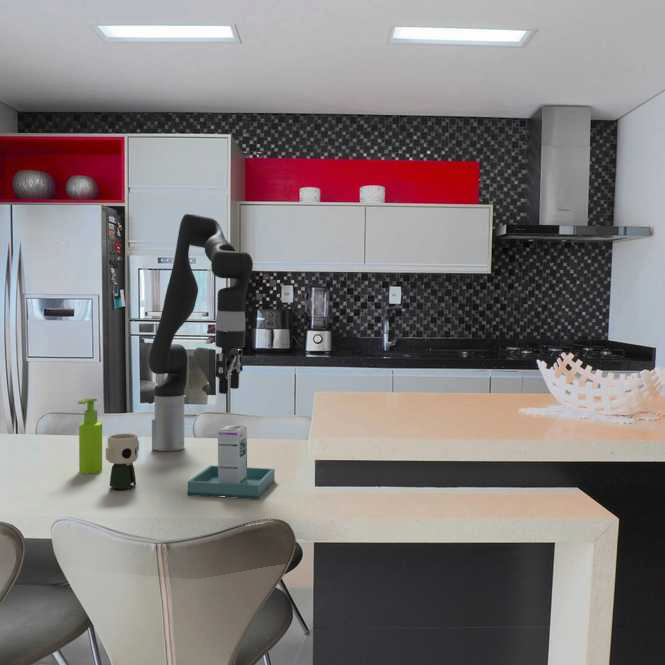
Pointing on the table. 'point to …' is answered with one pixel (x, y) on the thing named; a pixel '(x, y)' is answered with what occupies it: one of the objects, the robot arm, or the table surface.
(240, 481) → the syrup box
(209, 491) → the teal tray
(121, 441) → the character mug
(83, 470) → the soap dispenser
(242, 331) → the robot arm
